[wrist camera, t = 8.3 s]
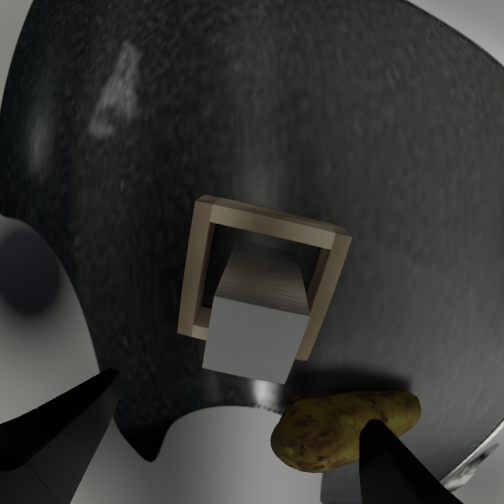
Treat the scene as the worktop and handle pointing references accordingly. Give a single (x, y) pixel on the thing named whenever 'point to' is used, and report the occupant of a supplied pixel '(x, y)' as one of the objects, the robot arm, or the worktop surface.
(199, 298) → the frame
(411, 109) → the worktop surface
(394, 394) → the potato
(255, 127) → the worktop surface
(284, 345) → the brushed grey square prism
